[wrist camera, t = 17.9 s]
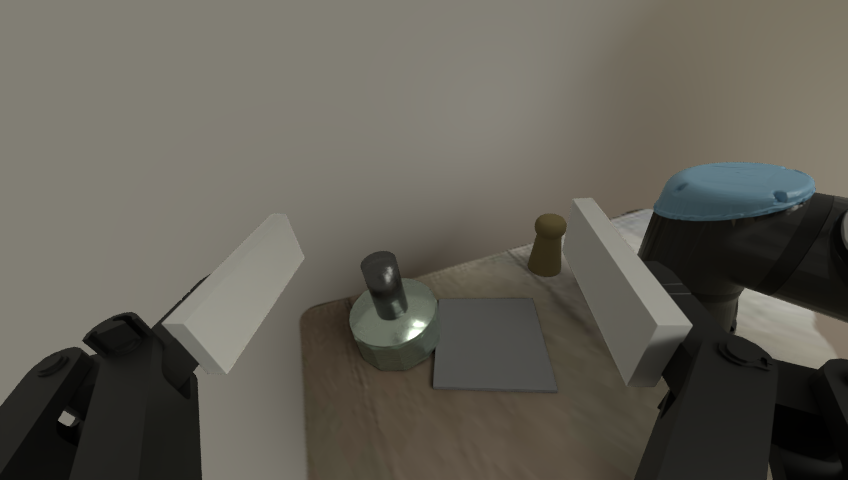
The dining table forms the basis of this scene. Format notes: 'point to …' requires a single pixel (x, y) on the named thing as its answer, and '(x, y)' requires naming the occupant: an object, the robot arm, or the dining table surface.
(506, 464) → the dining table surface
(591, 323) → the dining table surface
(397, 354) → the cover
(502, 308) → the mat
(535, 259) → the cork
